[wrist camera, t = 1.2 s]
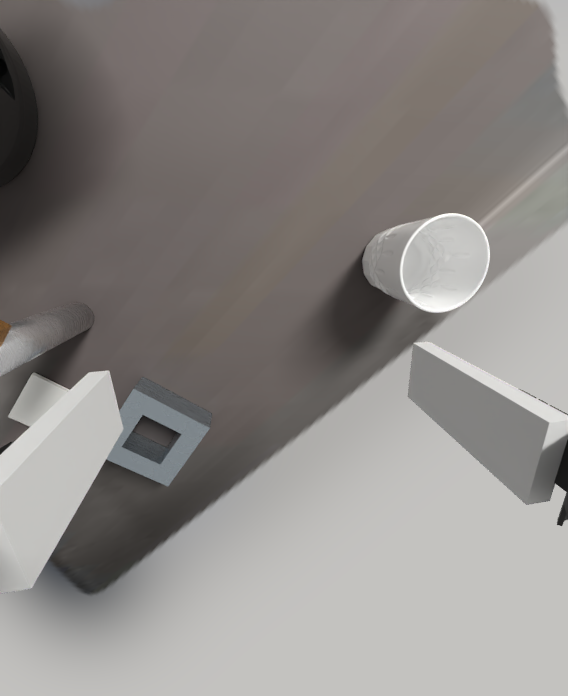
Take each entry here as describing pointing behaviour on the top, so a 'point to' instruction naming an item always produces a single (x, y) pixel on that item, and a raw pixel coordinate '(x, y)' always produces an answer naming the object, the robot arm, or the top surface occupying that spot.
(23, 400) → the mat
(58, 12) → the top surface
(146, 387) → the block
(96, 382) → the robot arm
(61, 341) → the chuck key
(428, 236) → the white cup
